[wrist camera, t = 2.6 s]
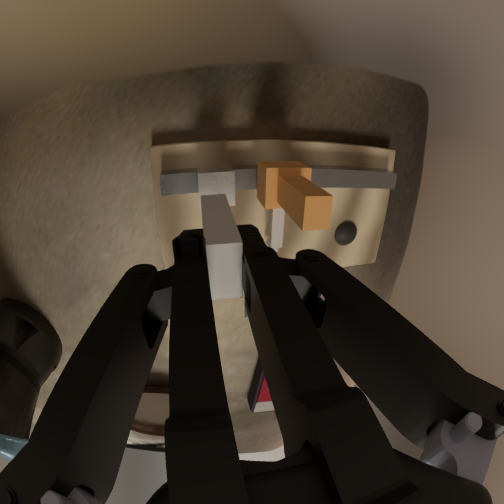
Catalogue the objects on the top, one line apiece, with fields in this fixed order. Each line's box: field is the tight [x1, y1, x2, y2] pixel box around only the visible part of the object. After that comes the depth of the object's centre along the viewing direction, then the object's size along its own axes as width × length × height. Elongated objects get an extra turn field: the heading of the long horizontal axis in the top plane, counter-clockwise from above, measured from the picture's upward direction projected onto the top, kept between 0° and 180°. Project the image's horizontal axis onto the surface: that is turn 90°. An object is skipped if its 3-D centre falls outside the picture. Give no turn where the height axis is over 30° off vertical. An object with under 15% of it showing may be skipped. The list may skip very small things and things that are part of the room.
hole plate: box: [150, 139, 395, 269], centre depth 31 cm, size 28×16×2 cm, turn 89°
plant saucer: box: [131, 387, 169, 436], centre depth 45 cm, size 21×21×3 cm
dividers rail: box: [160, 165, 397, 208], centre depth 27 cm, size 26×10×5 cm, turn 89°
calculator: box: [247, 358, 274, 412], centre depth 46 cm, size 11×4×15 cm
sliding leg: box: [257, 161, 333, 252], centre depth 24 cm, size 4×10×11 cm, turn 179°
